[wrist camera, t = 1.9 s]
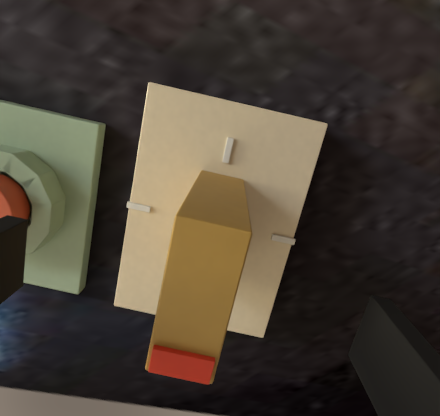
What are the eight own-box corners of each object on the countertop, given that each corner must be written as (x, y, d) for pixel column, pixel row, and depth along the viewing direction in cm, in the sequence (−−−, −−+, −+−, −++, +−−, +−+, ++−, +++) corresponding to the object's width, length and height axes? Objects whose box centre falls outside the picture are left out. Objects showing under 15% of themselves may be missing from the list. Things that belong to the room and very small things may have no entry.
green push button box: (-48, 88, 21) (-92, 84, 18) (106, 123, 22) (86, 125, 19) (-49, 257, 25) (-86, 276, 22) (85, 286, 25) (66, 309, 22)
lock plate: (158, 85, 21) (145, 80, 18) (317, 123, 21) (331, 124, 18) (126, 283, 25) (111, 307, 22) (261, 312, 25) (265, 340, 22)
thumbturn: (201, 169, 19) (173, 217, 10) (243, 179, 19) (253, 234, 10) (181, 263, 21) (142, 376, 12) (220, 272, 21) (212, 390, 12)
